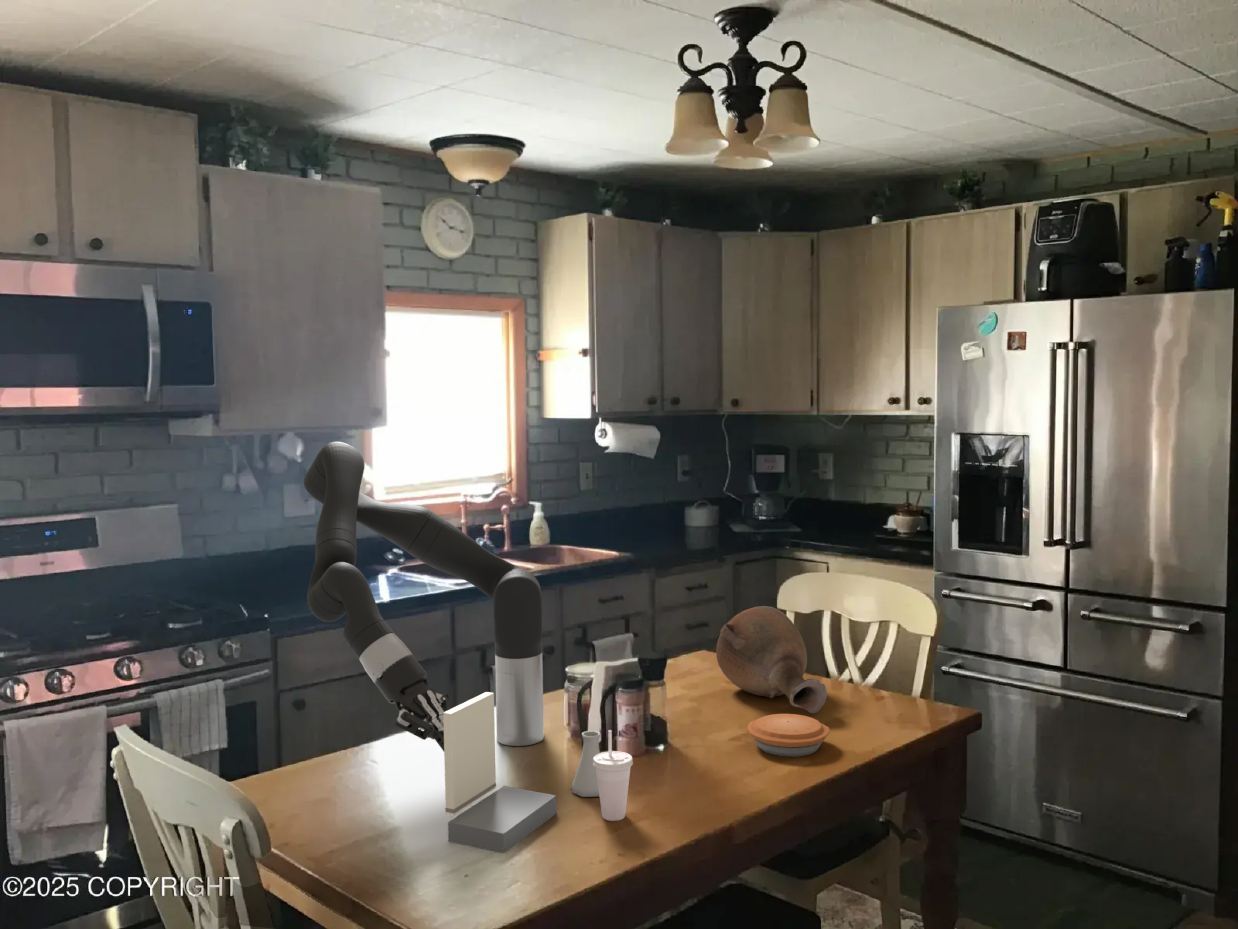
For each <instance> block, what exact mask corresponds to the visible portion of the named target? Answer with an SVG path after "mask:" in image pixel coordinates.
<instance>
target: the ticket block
mask: <svg viewBox="0 0 1238 929" xmlns="http://www.w3.org/2000/svg"><path fill="white" fill-rule="evenodd" d="M557 808H558V807H557V795H555V794H550V793H546V792H539V791H534V790H527V789H525V788H523V789H522V788H517V787H511V786H506V785H503V786H501V787H500V788H499V789H497V790H495V791H494V792H492V793H491V794H489V795H488V796H485V797H484V798H483V799H481V800H480V801H478V802H477V803H475V804H474V805H472V806H471V807H469V808H467V809H466V810H465V811H463V812H461V813H460V814H459V815H457V816H455V817H454V818H452V819H451V820H449V821H448V822H447V837H448V838H447V840H448V842H451V843H455V844H460V845H465V846H470V847H473V848H479V849H483V850H487V851H493V852H496V853H501V854H505V853H507V852H508V851H509V850H510V849H512V848H513V847H514V846H515V845H517V844H518V843H520V842H521V841H522V840H523V839H525V838H526V837H527V836H529V835H530V834H531V833H532V832H534V831H535V830H537V829H538V828H539V827H541V826H542V825H543V824H545V823H546V822H547V821H548V820H550V819H551V818H552V817H554V816H555V815H556V814H557Z"/></svg>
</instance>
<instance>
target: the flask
mask: <svg viewBox="0 0 1238 929" xmlns="http://www.w3.org/2000/svg"><path fill="white" fill-rule="evenodd" d="M581 737H582V739H583V747H582V751H581V752H582V754H581V757H580V760H579V762H578V767H577V769H576V771H575V774H574V778H573V780H572V784H571V793H573V794H575V795H577V796H580V797H581V798H591V797H599V789H598V782H597V775H596V767H595V766H594V765H593V762H594V760H593V758H594V756H595V755H597V754H599V753H601V751H600V747H599V746H600V744H599V741H600V740H599V739H600V738H601V733H600V732H599V731H597V730H586V731H583V732H581Z"/></svg>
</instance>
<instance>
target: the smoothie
mask: <svg viewBox="0 0 1238 929" xmlns="http://www.w3.org/2000/svg"><path fill="white" fill-rule="evenodd" d="M607 732H608V734H607V739H608V744H607V745H608V750H607V751H602V752H600V753H599V754H597V755H595V756H594V758H593V760H594V762H593V765H594V766H595V767H596V775H597V782H598V789H599V796H598V797H599V803H600V809H601V817H602V819H604V820H606V821H609V822H615V821H621V820H623V819H624V818H625V817H626V810H627V800H628V792H629V786H630V785H629V783H630V777H631V776H630V775H631V767H632V766H633V764H634V761H633V756H632V755H631V754H629V753H628V752H624V751H618V750H617V751H616V750H613V745H612V744H613V739H612V737H613V734H612V732H613V731H612V729H608V731H607Z"/></svg>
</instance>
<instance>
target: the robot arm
mask: <svg viewBox="0 0 1238 929" xmlns="http://www.w3.org/2000/svg"><path fill="white" fill-rule="evenodd" d="M364 472H365V461H364V457H363V455H362V454H361V453H360V451H358V449H357V448H356V447H355V446H352V445H350V444H349V443H346V442H342V441H331V442H328V443H327V444H325V445H324V446H323V447H322V448H321V449H320V450H319V452H318V453H317V455H316V457H315V458H314V460H313V462H312V464H311V466H310V467H309V468H308V470H307V471H306V474H305V476H304V479H303V485H304V488H305V490H306V492H307V493H308V494H309V495H310V496H311V497H312V498H313V499H315V500H316V501H318V502H319V503H321V504H322V507H321V510H320V511H321V512H320V515H319V518H318V523H317V528H316V535H315V555H314V556H315V561H314V565H313V568H312V570H311V576H310V579H309V584H308V587H307V591H306V592H307V593H306V599H307V605H308V607H309V610H310V611H311V613H312V614H313V616H314V617H316V618H317V619H319V620H320V621H323V622H327V623H330V622H331V623H333V622H336V621H338V620H340V619H342V618H343V616H345V615H346V616H347V618H346V622H345V626H344V628H343V631H342V636H343V639H344V640H345V641H344V642H346V644H347V645H348V647H349V648H350V649H351V651H352V652H353V653H354V654H355V657H356V658H357V659H358V660H359V662H360V663H361V665H362V667H363V669H364V670H365V672H366V674H367V675H368V677H370V679H371V680H372V682H373V683H374V685H375V686H376V687H377V688H378V690H379V691H380V693H381V694H382V695H383V697H384V698H385V699H386V701H387V702H388V703H389V704H391V705H395V707H396V709H397V711H398V712H399V713H398V717H397V719H395V721H394V724H395V726H397V727H398V728H400V729H402V730H404V731H406V732H408V733H410V734H412V735H414V737H415V736H416V737H417V738H418V739H421V740H424V741H425V740H426V739H428V738H429V739H431V740H434V741H435V742H436V743H437V744H438V746H439V747H440V748H441V750H442V751H443V752H444V720H443V713H444V712H446V711H448V710H450V709H452V708H453V702H452V696H451V694H450V693H449V692H448V691H446V692H444V694H441V693H439V692H436V688H434V687H432V686H431V685H429V683H428V682H427V678H428V673H427V671H426V670H425V669H424V668H423V667H422V665H421V664H420V663H419V661H418V660H417V659H416V658H415V656H414V655H413V653H412V652H411V650H410V649H409V648H408V646H406V644H405V643H404V642H403V641H402V640H401V639H400V638H399V637H398V635H396V633H395V632H394V631H393V629H392V628H391V627H390V626H389V624H388V623H387V621H386V620H385V619H384V618H383V617H382V615H381V612H380V610H379V607H378V604H377V602H376V599H375V596H374V594H373V592H372V589H371V587H370V585H369V582H368V580H367V578H366V577H365V575H364V574H363V573H362V572H361V571H360V569H359V568H357V567H356V563H357V554H358V553H357V552H358V551H357V548H358V547H357V543H358V542H357V541H358V540H357V523H359V524H361V525H363V526H365V528H368V529H369V530H372V531H373V532H375V533H377V534H378V535H380V536H382V537H383V538H385V539H386V540H388V541H389V542H391V543H393V544H395V545H396V546H398V547H399V548H400V549H401V550H403V551H404V552H406V553H408V554H409V555H411V557H414V558H415V559H417V560H419V561H420V562H421V563H424V564H425V565H427V566H429V567H431V568H433V569H435V570H437V571H441V572H443V573H445V574H449V575H451V576H454V577H457V578H459V579H461V580H464V581H466V582H467V583H469V584H471V585H473V586H474V587H475V588H476V589H478V590H479V591H481V592H482V593H483V594H485V595H486V596H488V597H489V598H490V599H491V600H492V601H493V632H494V633H493V634H494V636H493V637H494V638H493V640H494V657H495V658H494V660H495V662H494V663H495V668H494V669H495V705H496V706H495V708H496V709H495V714H496V716H495V717H496V721H495V722H496V741H497V742H498V743H500V744H501V745H505V746H511V747H512V746H513V747H523V746H525V747H526V746H531V745H534V744H535V745H536V744H537V743H539V742H542V741H543V740H544V738H545V737H544V736H545V734H544V729H545V728H544V683H543V682H544V678H543V676H544V674H543V671H544V670H543V601H542V600H543V599H542V591H541V589H542V587H541V585H540V582H539V580H538V579H537V578H536V577H535V575H533V574H532V573H531V572H530V571H528V570H526V569H524V568H522V567H519V565H518V566H517V565H515V564H513V563H511V562H509V561H507V560H506V559H503V558H502V557H499V556H498V555H497V554H496V555H495V554H494V553H493V552H491V551H489V550H487V549H486V548H484V546H482V545H480V544H479V543H478V542H477V541H476V540H474V538H471V536H469V535H467V534H466V533H465V532H463V531H462V530H461V529H459V528H458V527H456V526H455V525H454V524H452V523H451V522H449V521H448V520H446V519H445V518H443V517H442V516H441V515H439V514H437V513H435V512H434V511H433V510H431V509H429V508H427V507H424V506H421V505H418V504H417V505H416V504H409V503H406V504H405V503H392V502H384V501H380V500H377V499H374V498H372V497H370V496H369V495H366V494H364V493H362V492H361V491H360V490H361V484H362V482H363V481H362V480H363V476H364Z"/></svg>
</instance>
